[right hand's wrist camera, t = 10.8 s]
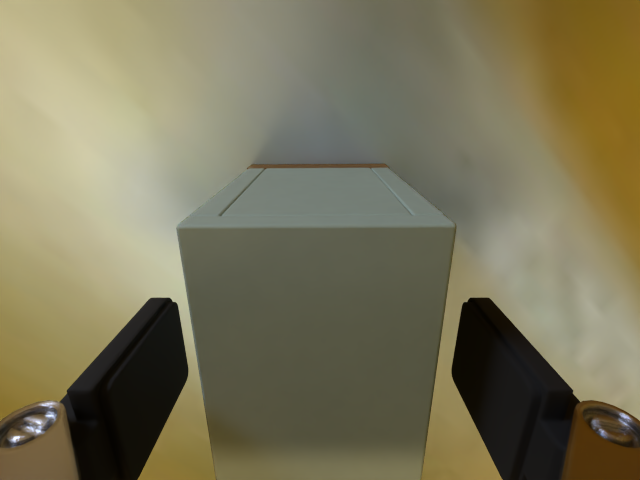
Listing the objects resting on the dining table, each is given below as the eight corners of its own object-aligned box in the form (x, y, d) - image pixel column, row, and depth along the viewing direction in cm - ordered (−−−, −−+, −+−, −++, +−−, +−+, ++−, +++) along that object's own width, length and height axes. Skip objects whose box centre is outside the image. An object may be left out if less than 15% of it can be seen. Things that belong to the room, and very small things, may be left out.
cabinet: (365, 485, 23) (391, 698, 14) (274, 486, 23) (249, 698, 14) (384, 163, 15) (458, 223, 7) (251, 164, 15) (173, 225, 7)
